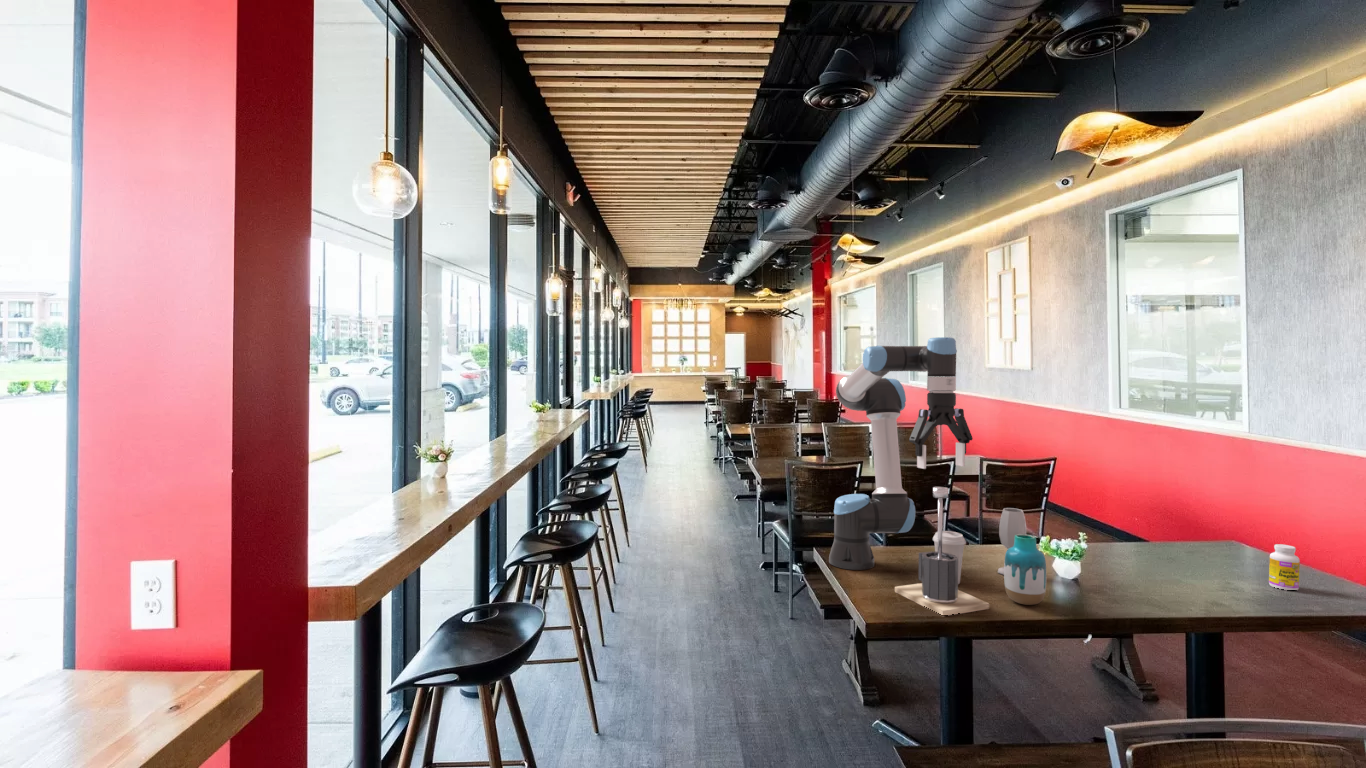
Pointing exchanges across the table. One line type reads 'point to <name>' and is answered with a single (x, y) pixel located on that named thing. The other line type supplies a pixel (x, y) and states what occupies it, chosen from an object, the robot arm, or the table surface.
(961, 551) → the coffee cup
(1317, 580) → the table surface
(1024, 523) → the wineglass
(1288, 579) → the supplement bottle
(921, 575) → the fluted grey tumbler
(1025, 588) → the vase
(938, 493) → the plunger
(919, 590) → the serving board
